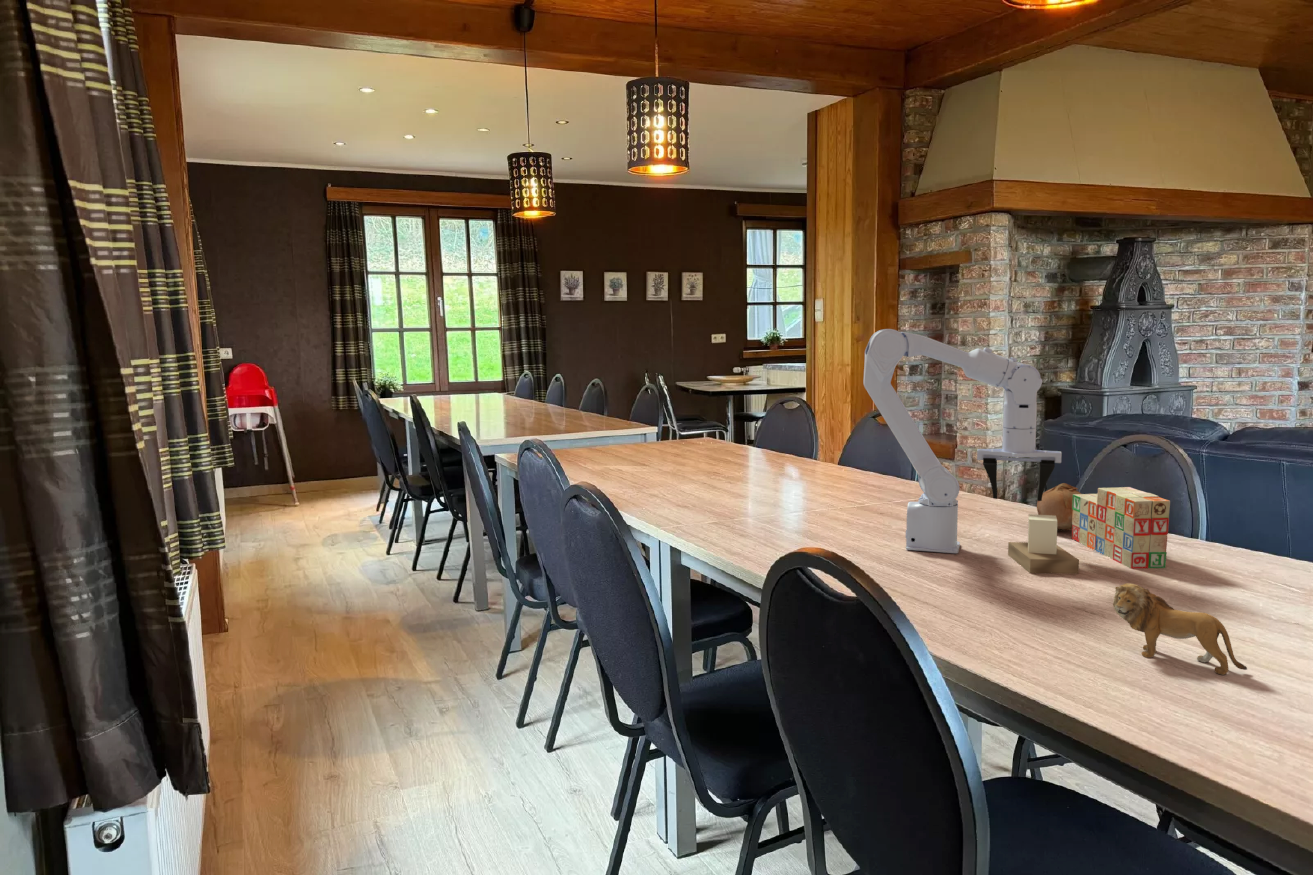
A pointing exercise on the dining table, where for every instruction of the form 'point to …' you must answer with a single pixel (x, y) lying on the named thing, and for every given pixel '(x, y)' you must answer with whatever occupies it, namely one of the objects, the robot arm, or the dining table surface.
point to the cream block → (1042, 534)
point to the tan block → (1043, 560)
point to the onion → (1058, 505)
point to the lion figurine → (1171, 624)
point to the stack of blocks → (1123, 525)
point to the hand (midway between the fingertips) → (1017, 498)
